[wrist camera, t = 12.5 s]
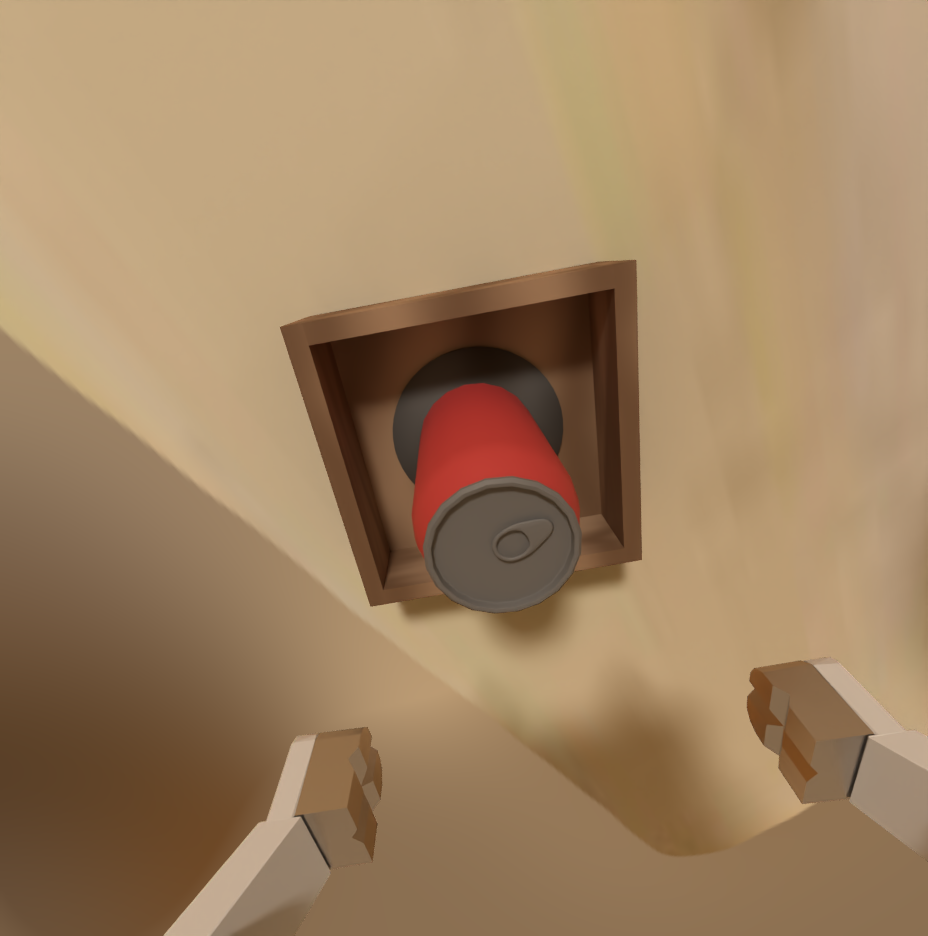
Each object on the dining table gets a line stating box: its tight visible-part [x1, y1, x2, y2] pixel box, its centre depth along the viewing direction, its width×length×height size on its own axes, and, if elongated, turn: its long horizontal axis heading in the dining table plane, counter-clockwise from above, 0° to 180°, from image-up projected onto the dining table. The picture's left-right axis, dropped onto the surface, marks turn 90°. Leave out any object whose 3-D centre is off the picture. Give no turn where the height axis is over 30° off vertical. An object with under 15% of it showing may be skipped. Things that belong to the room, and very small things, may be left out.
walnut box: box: [280, 260, 642, 606], centre depth 26 cm, size 16×16×5 cm
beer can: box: [411, 383, 582, 613], centre depth 21 cm, size 7×7×12 cm
